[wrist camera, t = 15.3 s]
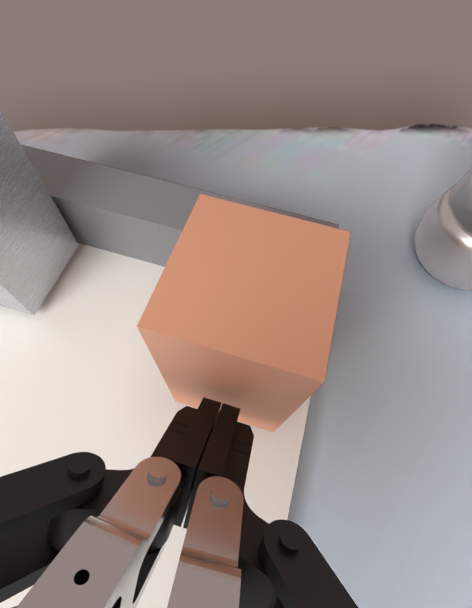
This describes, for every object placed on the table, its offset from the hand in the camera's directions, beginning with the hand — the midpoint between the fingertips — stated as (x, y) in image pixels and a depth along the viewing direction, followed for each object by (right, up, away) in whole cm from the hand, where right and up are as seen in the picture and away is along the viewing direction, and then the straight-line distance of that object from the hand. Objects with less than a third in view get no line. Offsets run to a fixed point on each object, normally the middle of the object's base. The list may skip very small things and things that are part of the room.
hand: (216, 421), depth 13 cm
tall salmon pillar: (+1, +1, +5) cm, 5 cm away
